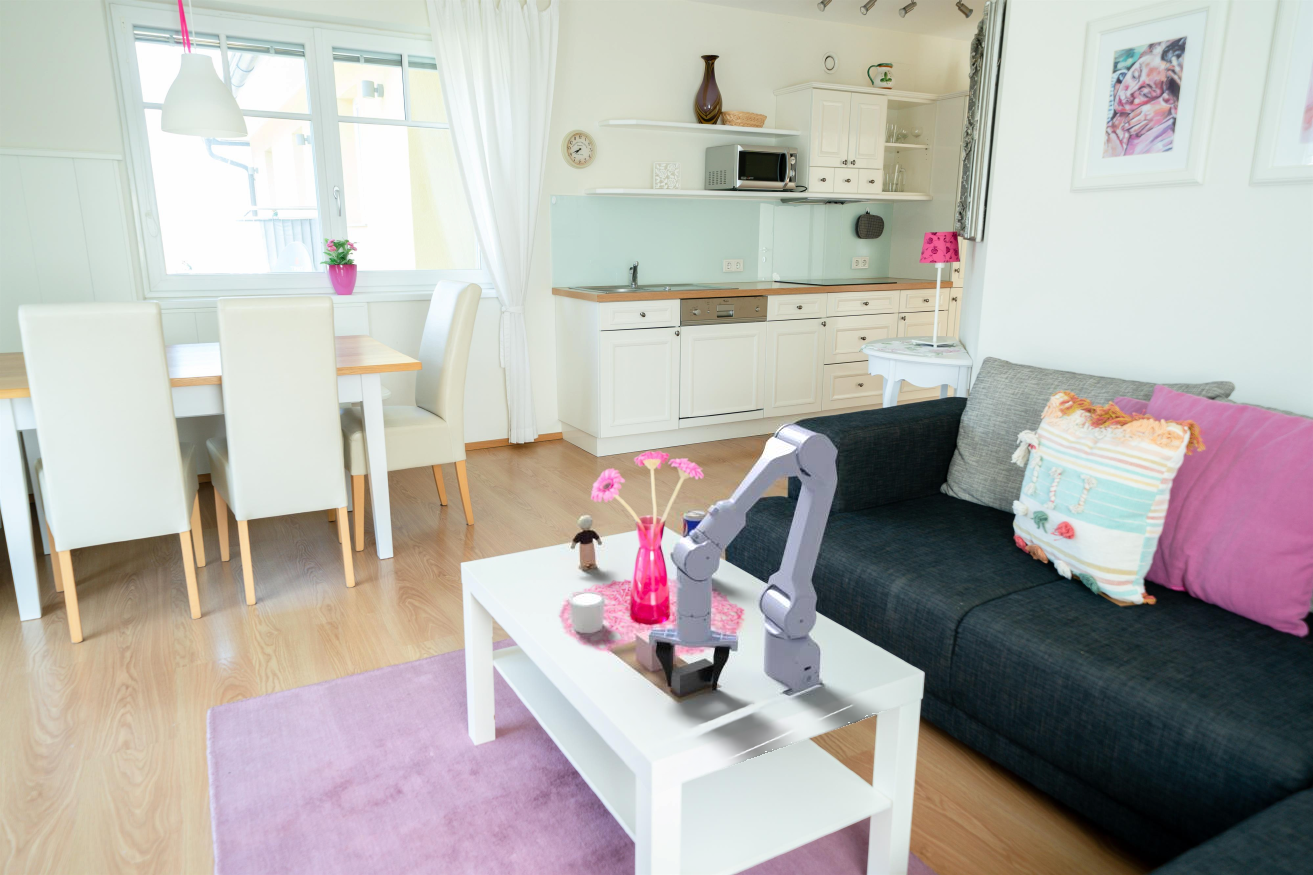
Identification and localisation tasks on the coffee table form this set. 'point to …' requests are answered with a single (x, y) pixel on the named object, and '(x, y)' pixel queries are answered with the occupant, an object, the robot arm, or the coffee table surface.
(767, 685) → the coffee table surface
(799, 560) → the robot arm
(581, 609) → the white candle
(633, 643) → the strip
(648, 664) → the cube
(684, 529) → the beverage can
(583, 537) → the grandmother figurine
